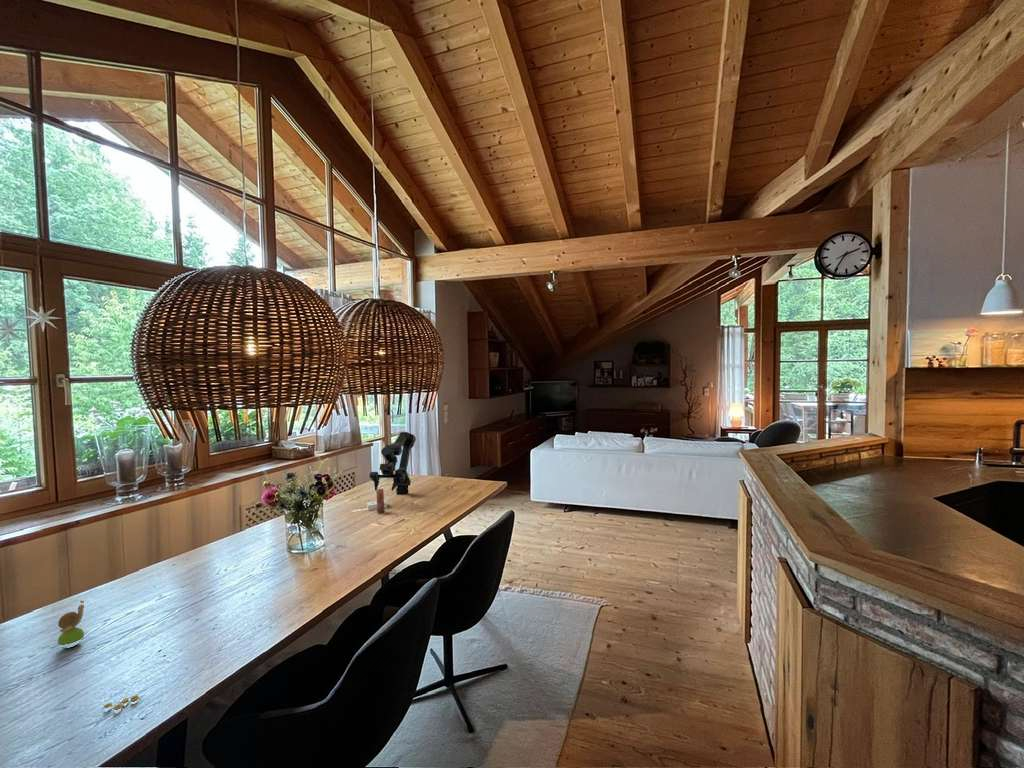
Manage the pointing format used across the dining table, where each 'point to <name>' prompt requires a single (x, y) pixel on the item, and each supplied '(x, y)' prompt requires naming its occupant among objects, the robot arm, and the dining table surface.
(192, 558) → the dining table surface
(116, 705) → the dice set
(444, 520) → the dining table surface
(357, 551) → the dining table surface
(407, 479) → the robot arm
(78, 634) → the snail figurine
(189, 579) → the dining table surface
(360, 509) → the subfloor panel
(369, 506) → the block
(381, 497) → the joystick
